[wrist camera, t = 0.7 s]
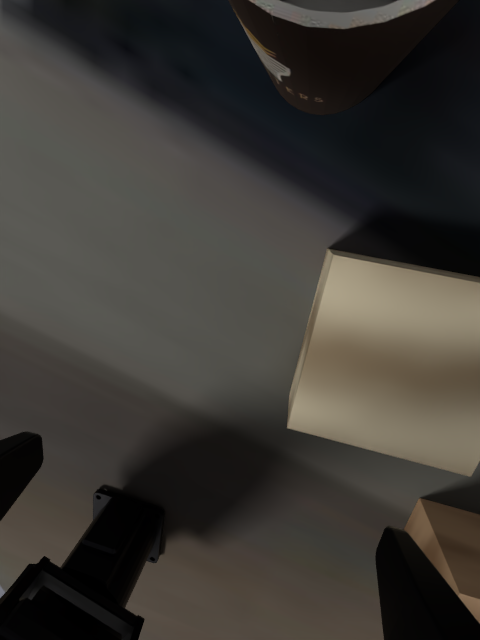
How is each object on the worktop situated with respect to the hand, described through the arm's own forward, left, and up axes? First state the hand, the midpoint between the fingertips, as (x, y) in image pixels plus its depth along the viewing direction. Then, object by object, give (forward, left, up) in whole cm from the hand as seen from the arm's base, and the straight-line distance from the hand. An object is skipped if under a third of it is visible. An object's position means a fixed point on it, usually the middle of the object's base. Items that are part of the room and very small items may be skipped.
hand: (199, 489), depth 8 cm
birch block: (+1, -8, -13) cm, 16 cm away
